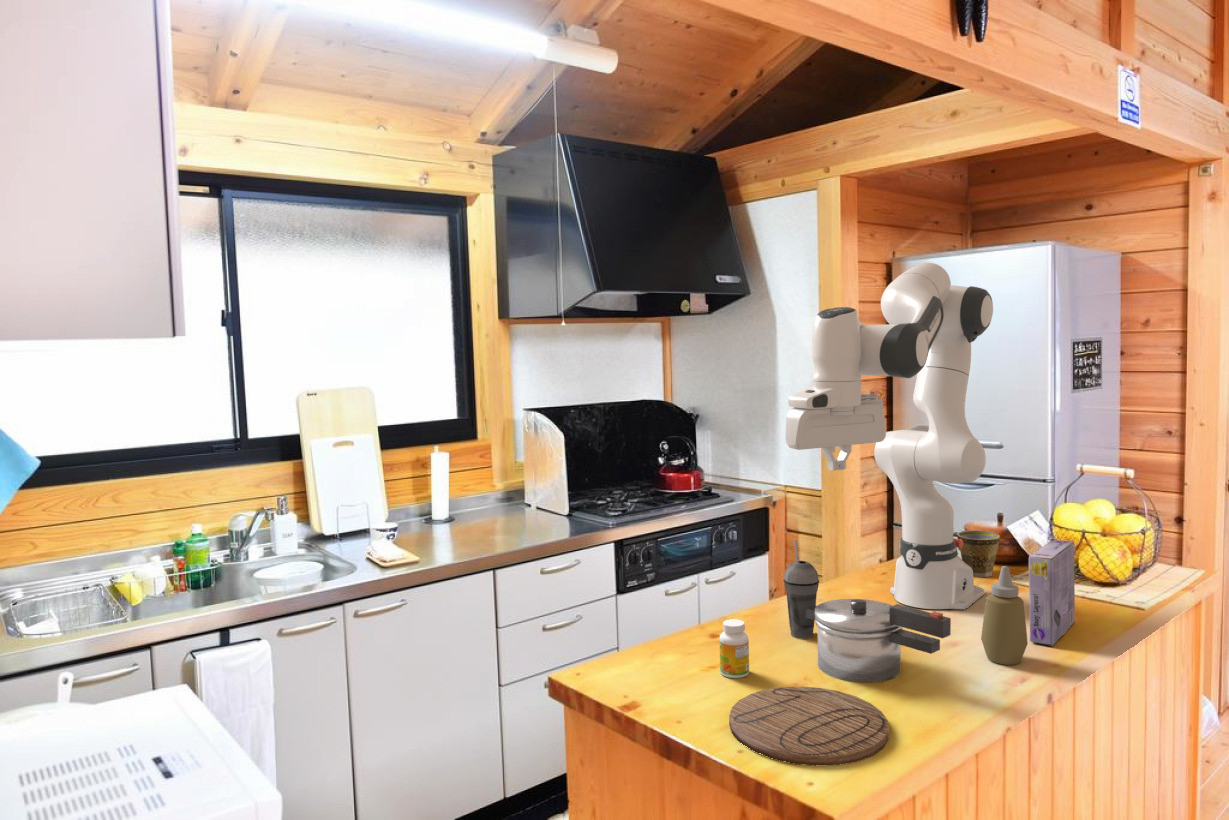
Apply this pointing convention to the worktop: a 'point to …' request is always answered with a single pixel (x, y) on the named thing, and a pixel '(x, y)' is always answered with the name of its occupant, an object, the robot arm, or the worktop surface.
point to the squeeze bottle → (1004, 622)
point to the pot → (866, 652)
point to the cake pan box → (1051, 591)
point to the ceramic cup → (979, 550)
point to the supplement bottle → (734, 649)
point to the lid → (879, 617)
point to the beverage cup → (801, 595)
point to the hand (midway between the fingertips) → (836, 469)
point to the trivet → (809, 725)
